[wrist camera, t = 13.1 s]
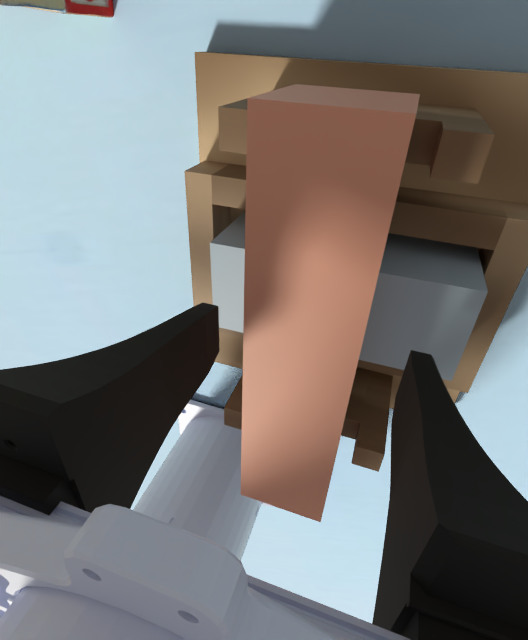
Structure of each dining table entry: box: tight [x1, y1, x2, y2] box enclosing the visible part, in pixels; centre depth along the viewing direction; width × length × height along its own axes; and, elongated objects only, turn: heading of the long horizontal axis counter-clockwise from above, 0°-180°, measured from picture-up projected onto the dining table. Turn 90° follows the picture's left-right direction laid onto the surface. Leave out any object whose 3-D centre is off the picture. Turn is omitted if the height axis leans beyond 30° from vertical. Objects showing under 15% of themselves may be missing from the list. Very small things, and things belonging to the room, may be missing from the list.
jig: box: [185, 52, 528, 472], centre depth 17 cm, size 16×14×6 cm
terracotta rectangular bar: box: [241, 84, 420, 522], centre depth 14 cm, size 15×4×4 cm, turn 178°
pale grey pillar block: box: [210, 211, 488, 381], centre depth 17 cm, size 4×10×4 cm, turn 89°
